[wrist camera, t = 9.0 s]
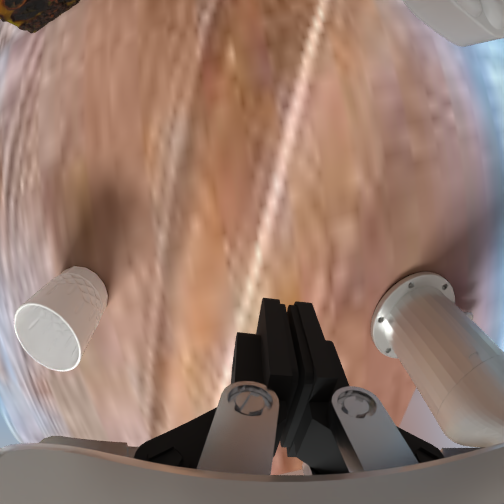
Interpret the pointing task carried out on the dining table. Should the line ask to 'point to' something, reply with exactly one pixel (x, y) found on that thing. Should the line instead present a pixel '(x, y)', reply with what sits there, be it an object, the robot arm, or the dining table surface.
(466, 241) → the dining table surface
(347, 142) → the dining table surface
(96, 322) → the white cup
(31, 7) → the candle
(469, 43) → the lumpy-topped squat cylinder
